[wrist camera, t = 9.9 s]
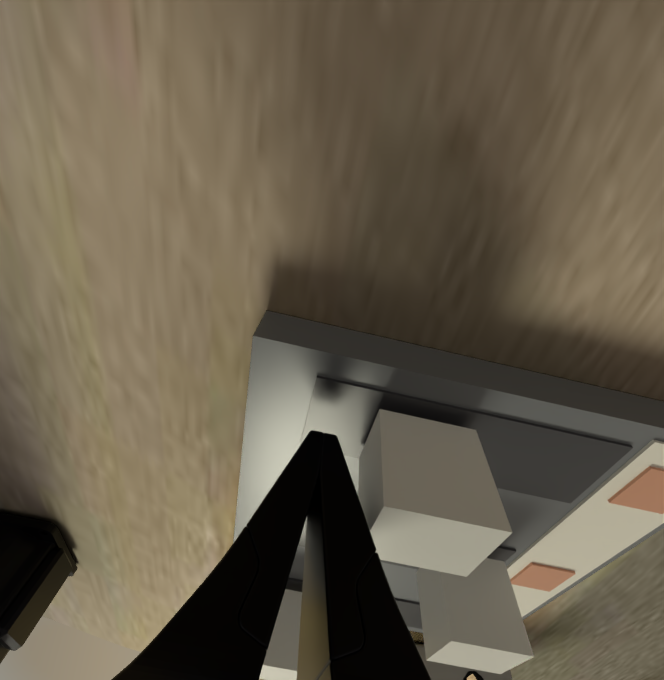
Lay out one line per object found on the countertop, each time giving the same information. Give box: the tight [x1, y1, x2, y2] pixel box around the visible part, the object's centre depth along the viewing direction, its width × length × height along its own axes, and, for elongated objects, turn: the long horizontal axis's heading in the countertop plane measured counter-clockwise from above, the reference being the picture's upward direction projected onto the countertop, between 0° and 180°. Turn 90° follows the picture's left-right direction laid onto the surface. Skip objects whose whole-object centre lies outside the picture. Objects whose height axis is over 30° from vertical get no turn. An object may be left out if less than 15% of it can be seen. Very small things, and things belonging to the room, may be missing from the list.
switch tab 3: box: [416, 558, 534, 674], centre depth 13 cm, size 3×2×3 cm
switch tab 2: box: [358, 409, 512, 577], centre depth 9 cm, size 3×2×3 cm
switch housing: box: [233, 310, 664, 633], centre depth 15 cm, size 16×19×2 cm
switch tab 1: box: [259, 589, 302, 680], centre depth 17 cm, size 3×2×3 cm
